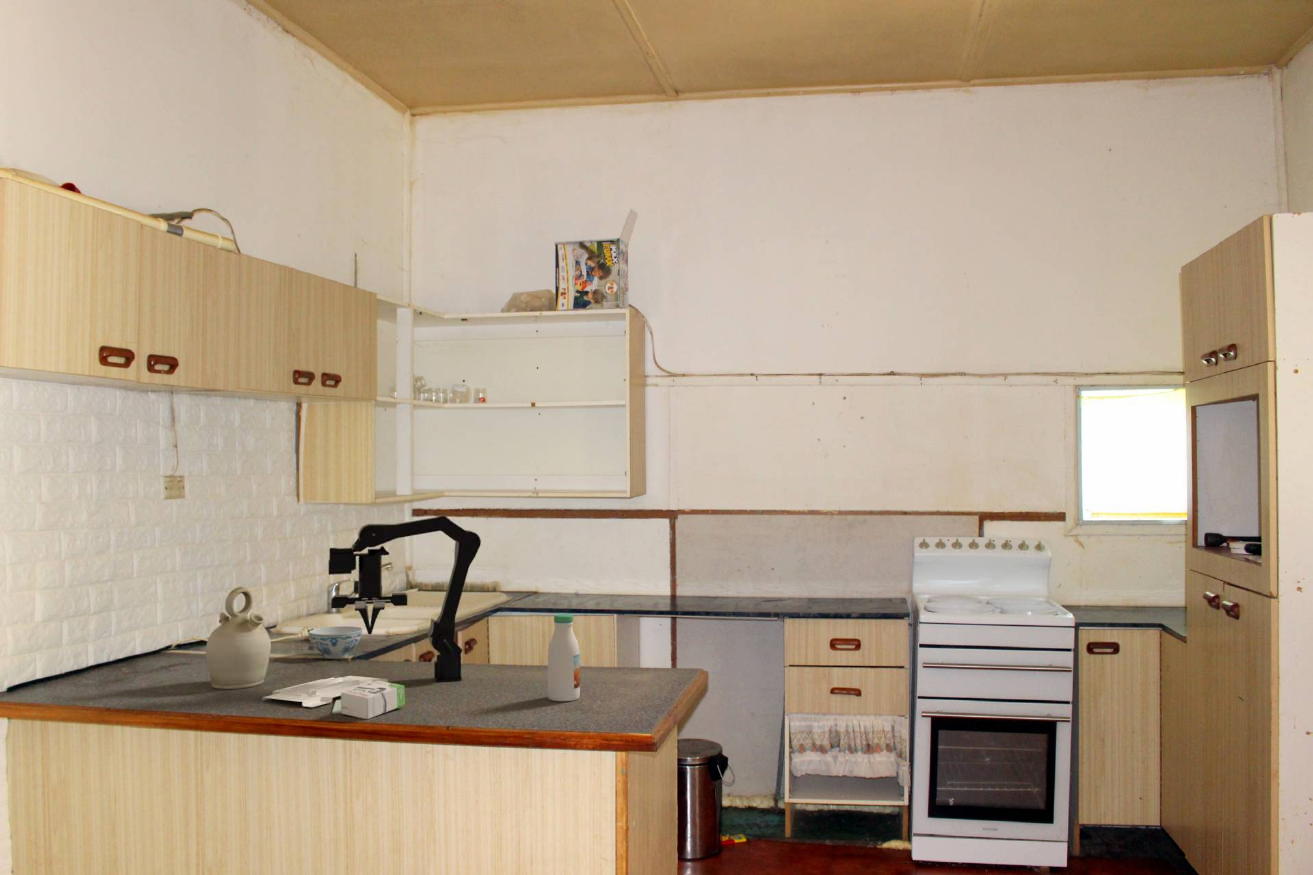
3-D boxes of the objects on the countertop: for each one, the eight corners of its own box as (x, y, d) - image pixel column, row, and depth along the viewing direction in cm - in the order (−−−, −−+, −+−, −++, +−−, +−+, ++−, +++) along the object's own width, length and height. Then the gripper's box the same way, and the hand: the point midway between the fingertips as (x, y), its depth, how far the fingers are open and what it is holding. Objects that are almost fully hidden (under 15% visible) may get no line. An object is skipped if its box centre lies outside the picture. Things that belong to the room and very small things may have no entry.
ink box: (405, 684, 228) (367, 697, 218) (405, 706, 228) (367, 719, 218) (378, 679, 232) (339, 691, 222) (378, 700, 233) (339, 713, 222)
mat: (388, 698, 238) (388, 696, 238) (387, 710, 226) (387, 708, 226) (336, 701, 235) (336, 699, 235) (332, 713, 224) (332, 711, 224)
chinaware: (348, 649, 303) (348, 624, 304) (371, 656, 292) (371, 630, 293) (300, 656, 293) (300, 630, 294) (322, 663, 282) (322, 636, 282)
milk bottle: (566, 703, 232) (566, 618, 233) (541, 699, 236) (540, 615, 237) (586, 697, 239) (585, 614, 239) (560, 693, 243) (560, 611, 243)
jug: (281, 683, 256) (281, 586, 256) (221, 693, 244) (221, 592, 245) (254, 675, 266) (255, 582, 267) (195, 684, 255) (196, 587, 255)
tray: (251, 700, 238) (252, 684, 238) (339, 682, 262) (339, 668, 262) (312, 707, 228) (313, 690, 228) (397, 687, 253) (397, 673, 253)
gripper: (407, 568, 264) (407, 627, 264) (334, 571, 260) (334, 630, 259) (407, 573, 254) (407, 634, 253) (331, 575, 249) (330, 637, 249)
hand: (369, 633), depth 254 cm, fingers closed
